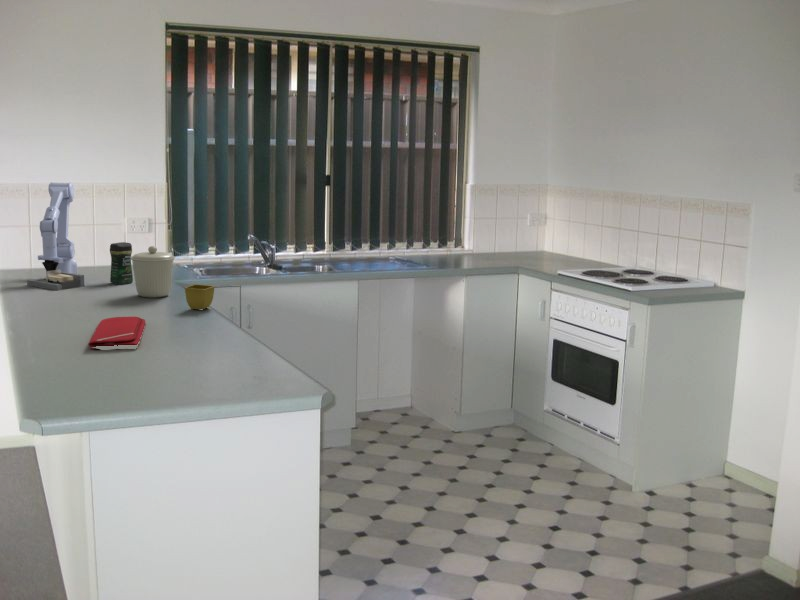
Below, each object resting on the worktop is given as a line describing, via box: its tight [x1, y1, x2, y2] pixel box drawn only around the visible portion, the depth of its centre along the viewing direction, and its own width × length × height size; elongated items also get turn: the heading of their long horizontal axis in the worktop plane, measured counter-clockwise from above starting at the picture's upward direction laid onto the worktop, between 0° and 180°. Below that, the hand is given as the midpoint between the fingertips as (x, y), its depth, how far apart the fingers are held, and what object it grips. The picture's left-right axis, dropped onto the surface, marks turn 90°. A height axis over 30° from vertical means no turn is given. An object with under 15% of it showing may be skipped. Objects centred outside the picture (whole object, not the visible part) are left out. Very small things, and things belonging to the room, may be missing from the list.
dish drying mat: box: [87, 316, 146, 348], centre depth 302 cm, size 16×41×4 cm, turn 12°
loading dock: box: [26, 272, 85, 291], centre depth 392 cm, size 14×20×6 cm
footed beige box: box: [45, 270, 73, 284], centre depth 390 cm, size 8×9×5 cm
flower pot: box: [184, 283, 215, 310], centre depth 349 cm, size 9×9×9 cm
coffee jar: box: [109, 241, 134, 285], centre depth 401 cm, size 10×8×19 cm
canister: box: [130, 245, 176, 299], centre depth 373 cm, size 18×18×21 cm
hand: (51, 277), depth 393 cm, fingers closed
